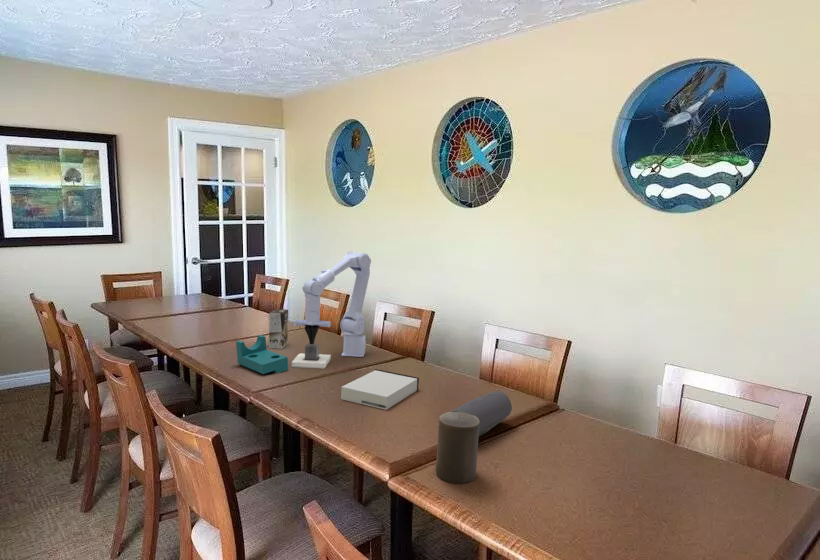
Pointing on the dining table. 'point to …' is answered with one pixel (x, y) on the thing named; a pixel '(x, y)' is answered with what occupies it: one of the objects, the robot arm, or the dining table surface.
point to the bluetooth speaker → (487, 409)
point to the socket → (303, 363)
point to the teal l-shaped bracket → (260, 357)
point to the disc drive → (380, 389)
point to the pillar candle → (457, 447)
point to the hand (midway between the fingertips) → (311, 343)
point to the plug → (312, 352)
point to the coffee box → (278, 328)
